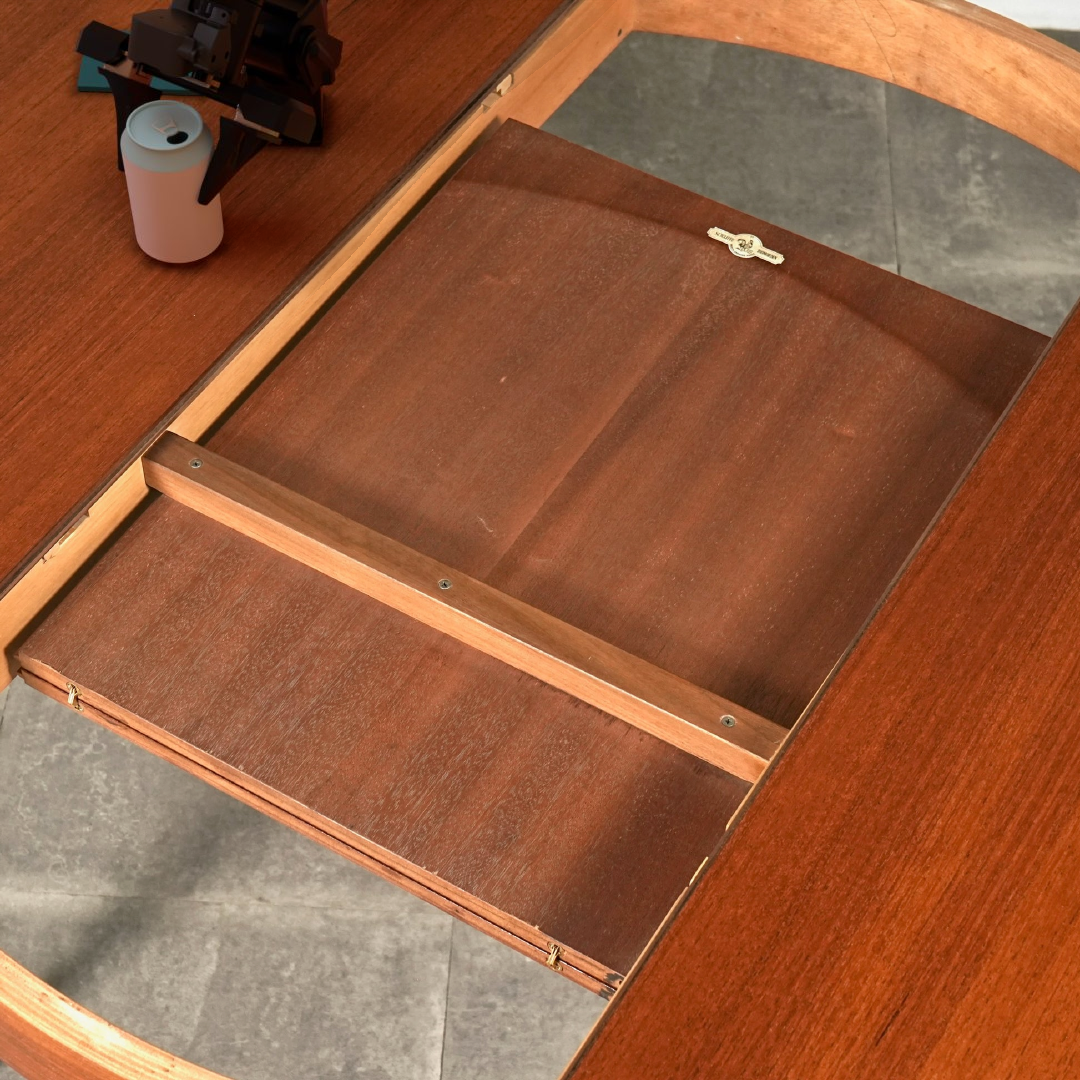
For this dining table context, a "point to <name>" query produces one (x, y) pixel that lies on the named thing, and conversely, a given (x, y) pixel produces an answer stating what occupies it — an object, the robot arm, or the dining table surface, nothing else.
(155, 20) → the robot arm
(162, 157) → the can
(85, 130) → the dining table surface
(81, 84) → the teal mat
